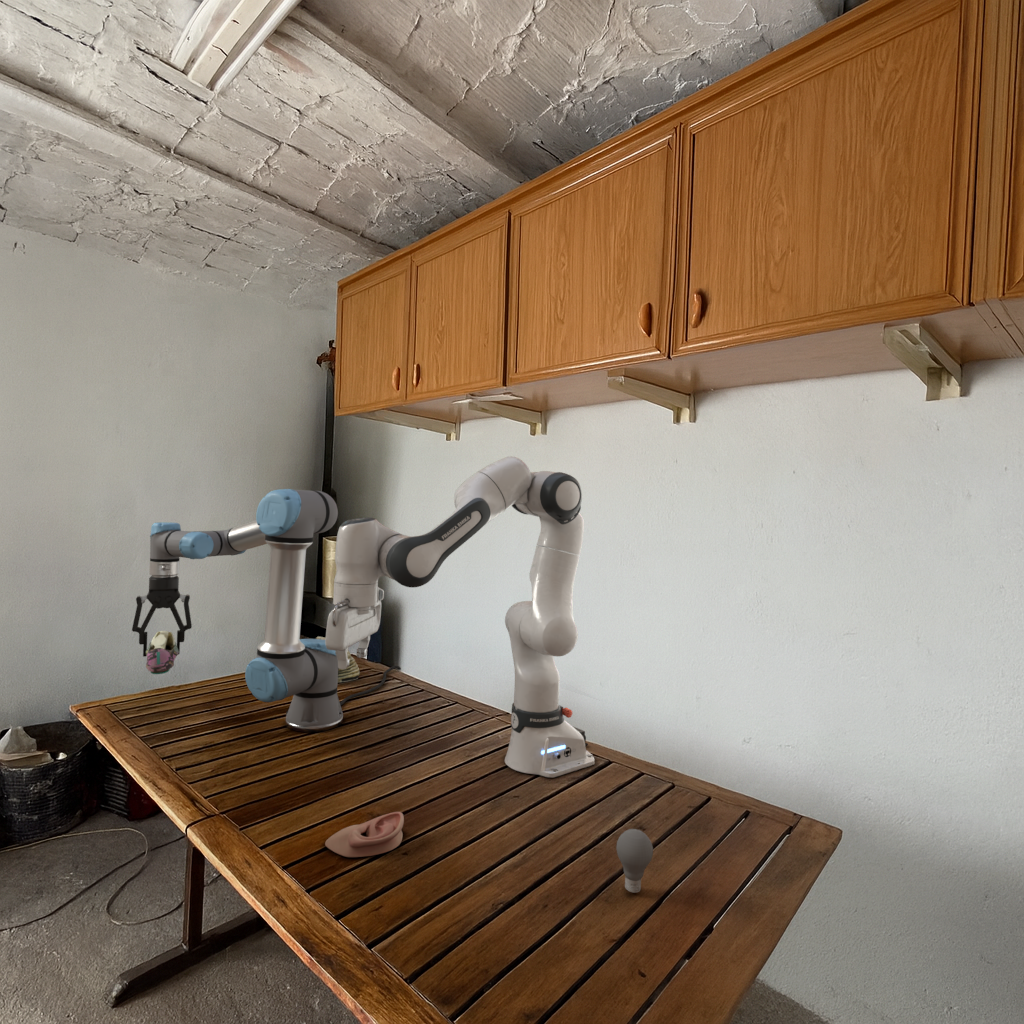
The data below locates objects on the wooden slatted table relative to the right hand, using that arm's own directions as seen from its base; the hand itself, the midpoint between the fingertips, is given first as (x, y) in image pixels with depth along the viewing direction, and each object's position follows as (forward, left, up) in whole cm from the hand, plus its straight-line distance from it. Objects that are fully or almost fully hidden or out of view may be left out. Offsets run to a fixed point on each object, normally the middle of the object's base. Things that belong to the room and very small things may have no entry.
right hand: (352, 662), depth 131 cm
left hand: (+37, -77, -14) cm, 87 cm away
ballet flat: (+36, -69, -15) cm, 79 cm away
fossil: (-15, -88, -29) cm, 94 cm away
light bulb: (-36, +48, -29) cm, 67 cm away
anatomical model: (0, +16, -29) cm, 34 cm away
